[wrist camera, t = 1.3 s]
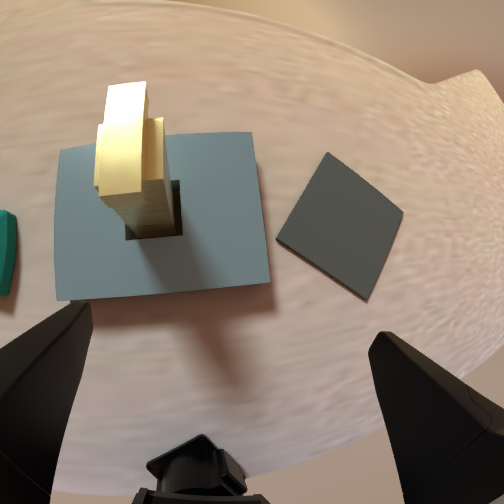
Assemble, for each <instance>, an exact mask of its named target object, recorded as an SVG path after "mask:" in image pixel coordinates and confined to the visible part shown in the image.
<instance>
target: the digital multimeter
mask: <svg viewBox="0 0 504 504" xmlns="http://www.w3.org/2000/svg"><path fill="white" fill-rule="evenodd" d="M15 255H16V216H15V215H13V214H11V213H9V212H7V211H5V210H0V296H6V295H7V294H8V292H9V288H10V283H11V279H12V274H13V269H14V264H15Z"/></svg>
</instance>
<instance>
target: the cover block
mask: <svg viewBox="0 0 504 504" xmlns="http://www.w3.org/2000/svg"><path fill="white" fill-rule="evenodd" d="M165 139H166V147H167V156H168V163H169V171H170V178H171V185H172V191H180V197H181V214H182V229H183V235H182V236H170V237H159V238H148V239H138V240H132V239H131V229H130V228H129V227H128V226H127V224H126V223H125V222H124V221H123V220H122V219H121V218H120V217H119V215H118V214H117V213H116V212H115V211H114V210H113V209H112V208H108V207H107V205H106V204H105V203H104V202H103V201H102V200H101V199H100V198H99V197H98V195H99V192H98V191H97V190H96V189H95V188H94V170H95V156H96V145H97V144H91V145H85V146H79V147H73V148H68V149H63V150H60V155H59V163H58V172H57V183H56V196H55V214H54V266H55V284H56V297H57V301H66V300H83V299H98V298H112V297H125V296H138V295H150V294H162V293H173V292H184V291H194V290H205V289H214V288H224V287H233V286H243V285H252V284H260V283H269V282H271V281H270V273H269V264H268V256H267V247H266V239H265V231H264V223H263V215H262V207H261V199H260V191H259V183H258V175H257V168H256V160H255V152H254V145H253V137H252V132H221V133H195V134H178V135H165Z"/></svg>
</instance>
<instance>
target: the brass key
mask: <svg viewBox="0 0 504 504" xmlns="http://www.w3.org/2000/svg"><path fill="white" fill-rule="evenodd" d="M148 103H149V101H148V94H147V87H146V82H138V83H129V84H122V85H115V86H109V90H108V96H107V103H106V110H105V117H104V124H103V125H99V127H98V136H97V145H96V156H95V170H94V188H95V189H96V190H97V191H98V192H99V195H98V197H99V198H100V199H101V200H102V201H103V202H104V203H105V204H106V205H107V207H108V208H112V209H113V210H114V211H115V212H116V213H117V214H118V215H119V217H120V218H121V219H122V220H123V221H124V222H125V223H126V224H127V226H128V227H129V228H130V229H131V230H132V231H133V232H134V233H135V234H136V235H137V237H138V238H142V237H153V236H164V235H176V233H175V218H174V199H173V192H172V185H171V178H170V171H169V163H168V156H167V147H166V139H165V130H164V121H163V117H162V118H151V119H148Z"/></svg>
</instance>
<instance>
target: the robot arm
mask: <svg viewBox="0 0 504 504" xmlns="http://www.w3.org/2000/svg"><path fill="white" fill-rule="evenodd" d="M92 331H93V322H92V315H91V307H90V304H89V303H88V302H85V301H80V300H75V301H73V302H72V303H70V304H69V305H67V306H65V307H64V308H62V309H61V310H59V311H57V312H56V313H54V314H53V315H51V316H49V317H48V318H46V319H45V320H43V321H42V322H40V323H39V324H37V325H35V326H34V327H32V328H31V329H29V330H28V331H26V332H25V333H23V334H22V335H20V336H19V337H17V338H16V339H14V340H13V341H11V342H10V343H8V344H7V345H5V346H4V347H2V348H1V349H0V504H50V495H51V491H52V486H53V480H54V475H55V471H56V466H57V461H58V457H59V453H60V449H61V445H62V441H63V437H64V433H65V429H66V426H67V422H68V419H69V415H70V412H71V408H72V405H73V402H74V399H75V396H76V392H77V389H78V386H79V383H80V380H81V377H82V373H83V369H84V364H85V360H86V356H87V351H88V347H89V343H90V339H91V335H92ZM368 357H369V361H370V366H371V371H372V375H373V380H374V385H375V390H376V394H377V398H378V401H379V404H380V408H381V411H382V414H383V418H384V421H385V425H386V428H387V432H388V436H389V439H390V443H391V447H392V451H393V455H394V458H395V462H396V467H397V471H398V474H399V479H400V483H401V488H402V492H403V493H404V494H403V498H404V502H405V504H504V409H503V408H502V407H500V406H499V405H497V404H495V403H493V402H492V401H490V400H489V399H487V398H486V397H484V396H483V395H481V394H479V393H478V392H477V391H475V390H474V389H472V388H471V387H469V386H468V385H467V384H465V383H463V382H462V381H461V380H460V379H458V378H457V377H455V376H454V375H452V374H451V373H450V372H448V371H447V370H445V369H444V368H442V367H441V366H440V365H438V364H437V363H435V362H434V361H432V360H431V359H430V358H428V357H427V356H425V355H424V354H422V353H421V352H419V351H418V350H417V349H415V348H414V347H412V346H411V345H409V344H408V343H406V342H405V341H404V340H402V339H401V338H399V337H398V336H396V335H395V334H393V333H392V332H389V331H381V332H379V333H378V334H377V336H376V338H375V339H374V341H373V343H372V345H371V346H370V348H369V351H368ZM200 439H204V440H205V441H203V442H202V441H200ZM150 465H152V466H154V467H150ZM146 468H147V470H148V471H149V472H150V473H151V474H153V475H154V476H155V477H156V478H157V479H158V480H157V488H156V491H153V490H148V489H147V488H140V490H139V492H138V493H136V495H135V498H134V500H133V502H132V504H270V503H269V502H268V501H267V500H266V499H265V498H264V497H263V496H262V495H261V494H254V495H253V496H243V494H244V493H246V492H247V486H246V483H245V476H244V474H243V473H242V472H241V469H240V466H239V465H238V464H237V463H236V462H235V461H234V460H233V459H232V458H231V457H230V456H229V455H228V454H227V453H226V451H225V450H224V449H218V448H217V447H216V446H215V445H214V444H213V443H212V442H211V440H210V439H209V438H208V437H207V436H206V435H203V434H200V435H198V436H196V437H194V438H193V439H191V440H189V441H187V442H185V443H184V444H182V445H180V446H178V447H176V448H174V449H172V450H170V451H169V452H167V453H165V454H163V455H161V456H159V457H157V458H155V459H153V460H151V461H149V462H147V464H146Z"/></svg>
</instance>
